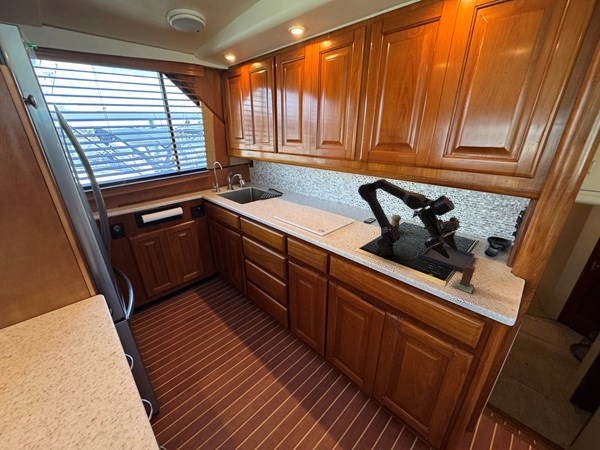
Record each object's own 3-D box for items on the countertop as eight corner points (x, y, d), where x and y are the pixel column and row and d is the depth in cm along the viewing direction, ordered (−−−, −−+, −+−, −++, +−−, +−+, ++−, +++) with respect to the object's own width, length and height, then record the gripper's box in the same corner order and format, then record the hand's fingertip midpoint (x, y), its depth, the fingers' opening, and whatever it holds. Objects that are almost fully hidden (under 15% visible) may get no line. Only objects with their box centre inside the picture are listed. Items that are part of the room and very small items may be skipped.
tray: (420, 258, 117) (421, 254, 117) (432, 244, 130) (433, 241, 129) (465, 273, 105) (467, 269, 105) (473, 257, 118) (475, 254, 117)
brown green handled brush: (453, 286, 97) (460, 266, 93) (456, 282, 99) (462, 262, 95) (471, 293, 93) (478, 272, 89) (472, 288, 96) (480, 268, 92)
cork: (390, 229, 149) (393, 212, 145) (400, 231, 146) (403, 215, 141) (387, 232, 145) (389, 215, 140) (397, 235, 141) (400, 218, 137)
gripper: (439, 217, 87) (465, 255, 84) (456, 206, 99) (480, 239, 95) (414, 230, 96) (436, 265, 92) (432, 219, 107) (453, 249, 104)
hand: (452, 254), depth 96 cm, fingers open, 9 cm apart
